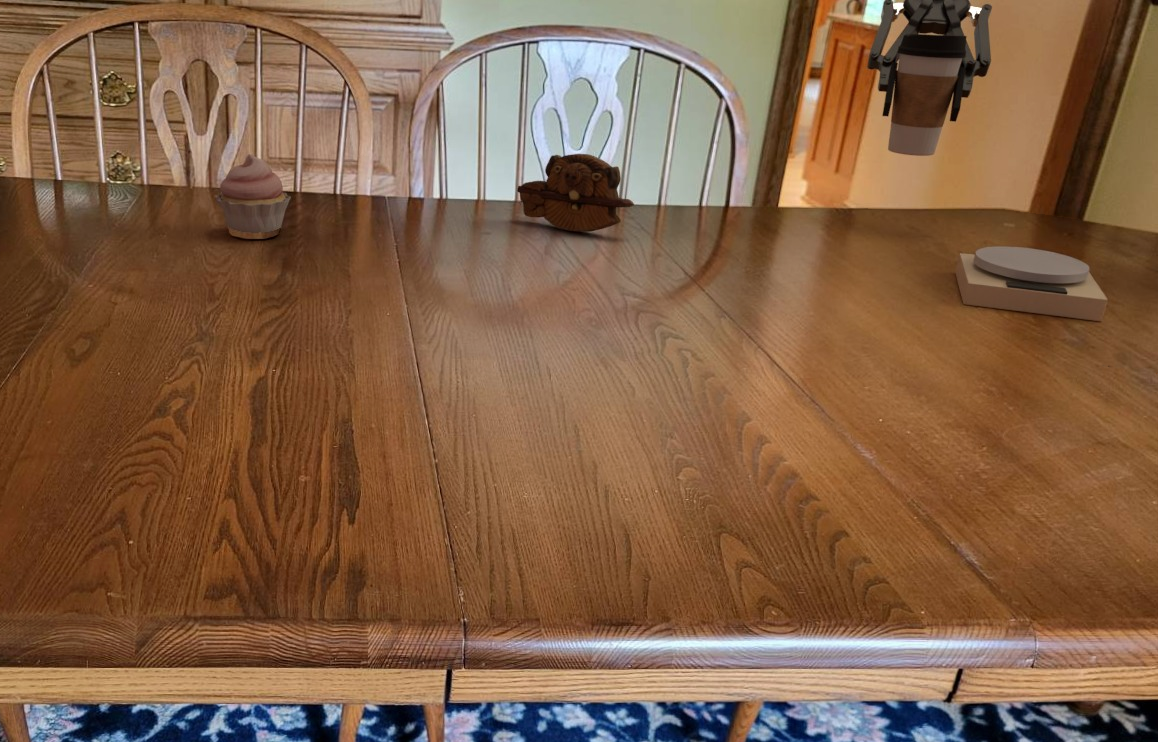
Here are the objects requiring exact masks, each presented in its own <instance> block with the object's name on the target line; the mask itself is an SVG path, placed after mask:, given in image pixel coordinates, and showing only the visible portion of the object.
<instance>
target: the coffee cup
mask: <svg viewBox="0 0 1158 742" xmlns="http://www.w3.org/2000/svg"><path fill="white" fill-rule="evenodd" d="M966 41H967V35H964V36H961V35H954V36H953V35H940V34H922V33H919V34H906V35H904V37H903V40H902V42H901V45H900V46H899V47H898V51H897V53H899V54H900V56H899V60H898V65H897V71H896V78H895V84H894V90H893V97H892V106H891V107H892V108H891V117H890V129H889V138H888V145H887V146H888V147H887V150H888V151H889V152H891V153H894V154H900V155H904V156H916V157H927V156H928V157H929V156H933V155H935V154H936V150H937V147H938V143H939V140H940V136H941V132H942V129H943V127H944V124H945V121H946V118H947V115H948V111H949V108H950V105H951V103H952V100H953V93H954V89H955V86H956V83H957V79H958V75H957V74H958V71H959V68H960V64H961V61H962V58H965V57H966V50H965V46H966Z"/></svg>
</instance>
